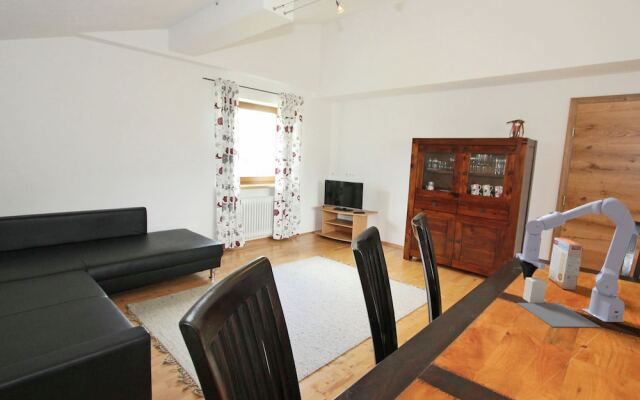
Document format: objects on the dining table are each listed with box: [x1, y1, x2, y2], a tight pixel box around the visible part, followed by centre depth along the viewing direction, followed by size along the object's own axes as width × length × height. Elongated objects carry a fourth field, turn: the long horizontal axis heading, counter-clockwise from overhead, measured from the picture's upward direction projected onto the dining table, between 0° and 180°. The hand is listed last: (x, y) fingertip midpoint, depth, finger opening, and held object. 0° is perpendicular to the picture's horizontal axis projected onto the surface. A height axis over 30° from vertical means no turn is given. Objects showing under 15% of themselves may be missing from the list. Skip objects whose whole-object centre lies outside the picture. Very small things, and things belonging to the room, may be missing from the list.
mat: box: [516, 302, 602, 328], centre depth 125 cm, size 18×18×1 cm
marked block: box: [522, 277, 548, 303], centre depth 136 cm, size 4×6×9 cm
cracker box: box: [547, 237, 584, 291], centre depth 155 cm, size 14×6×21 cm, turn 168°
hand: (526, 279), depth 140 cm, fingers closed
